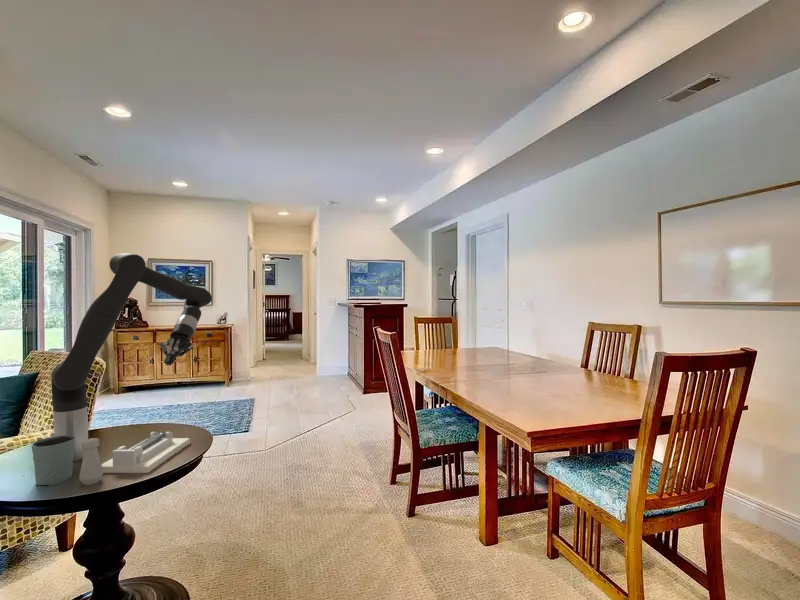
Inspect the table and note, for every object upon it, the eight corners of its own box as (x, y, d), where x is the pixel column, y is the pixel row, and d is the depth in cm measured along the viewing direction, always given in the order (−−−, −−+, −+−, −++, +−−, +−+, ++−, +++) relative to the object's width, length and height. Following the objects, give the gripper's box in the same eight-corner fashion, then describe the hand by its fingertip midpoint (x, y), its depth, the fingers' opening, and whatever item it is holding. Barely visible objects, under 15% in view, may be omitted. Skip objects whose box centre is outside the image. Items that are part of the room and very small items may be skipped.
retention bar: (123, 456, 133) (123, 453, 133) (158, 435, 152) (158, 432, 152) (132, 456, 133) (132, 453, 133) (166, 435, 152) (166, 432, 152)
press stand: (97, 472, 131) (97, 451, 131) (147, 443, 156) (147, 425, 156) (147, 472, 131) (147, 451, 131) (189, 443, 156) (189, 425, 156)
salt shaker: (90, 487, 121) (89, 443, 121) (74, 486, 122) (73, 442, 122) (108, 478, 127) (107, 436, 127) (92, 477, 128) (91, 435, 128)
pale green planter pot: (26, 489, 120) (25, 448, 120) (40, 475, 130) (39, 437, 129) (69, 483, 124) (68, 443, 124) (80, 469, 134) (79, 432, 133)
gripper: (164, 322, 165) (145, 358, 153) (197, 322, 165) (180, 358, 153) (172, 334, 170) (154, 370, 158) (204, 334, 170) (188, 369, 158)
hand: (167, 364), depth 156 cm, fingers closed
